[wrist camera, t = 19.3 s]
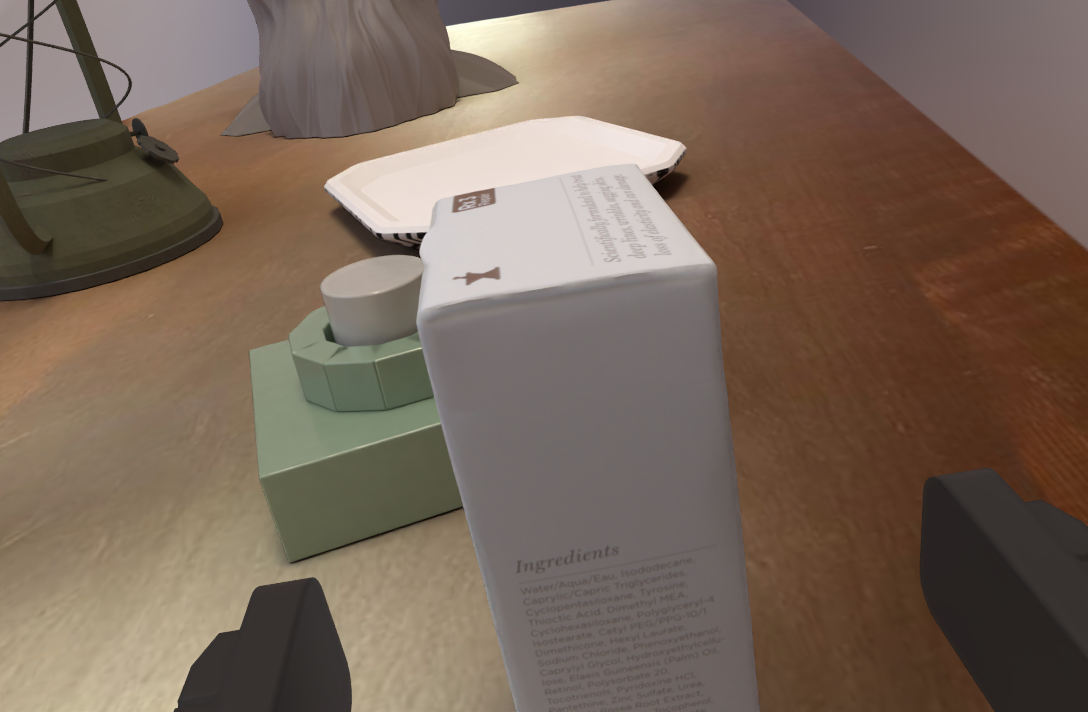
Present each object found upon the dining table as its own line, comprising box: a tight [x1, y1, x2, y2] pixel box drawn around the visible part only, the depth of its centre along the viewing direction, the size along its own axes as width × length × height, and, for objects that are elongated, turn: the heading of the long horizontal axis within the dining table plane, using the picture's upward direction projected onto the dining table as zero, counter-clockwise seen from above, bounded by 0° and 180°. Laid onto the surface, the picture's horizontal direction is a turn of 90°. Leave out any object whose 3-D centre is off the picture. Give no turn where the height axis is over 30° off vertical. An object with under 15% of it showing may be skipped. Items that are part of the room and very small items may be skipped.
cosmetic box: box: [416, 164, 760, 712], centre depth 17 cm, size 6×4×12 cm
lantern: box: [0, 0, 223, 300], centre depth 56 cm, size 21×18×30 cm
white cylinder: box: [320, 255, 424, 347], centre depth 30 cm, size 4×4×2 cm
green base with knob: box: [249, 306, 463, 562], centre depth 32 cm, size 14×10×5 cm
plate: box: [324, 116, 687, 249], centre depth 59 cm, size 21×21×2 cm
